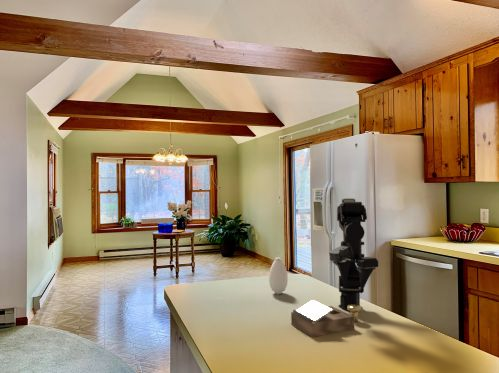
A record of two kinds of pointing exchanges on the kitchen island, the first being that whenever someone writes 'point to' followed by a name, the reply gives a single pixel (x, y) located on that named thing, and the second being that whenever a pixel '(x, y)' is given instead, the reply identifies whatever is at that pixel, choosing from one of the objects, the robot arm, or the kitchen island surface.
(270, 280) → the sauce bottle
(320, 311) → the steel flap
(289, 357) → the kitchen island surface
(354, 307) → the gold metal dome
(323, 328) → the brown box
